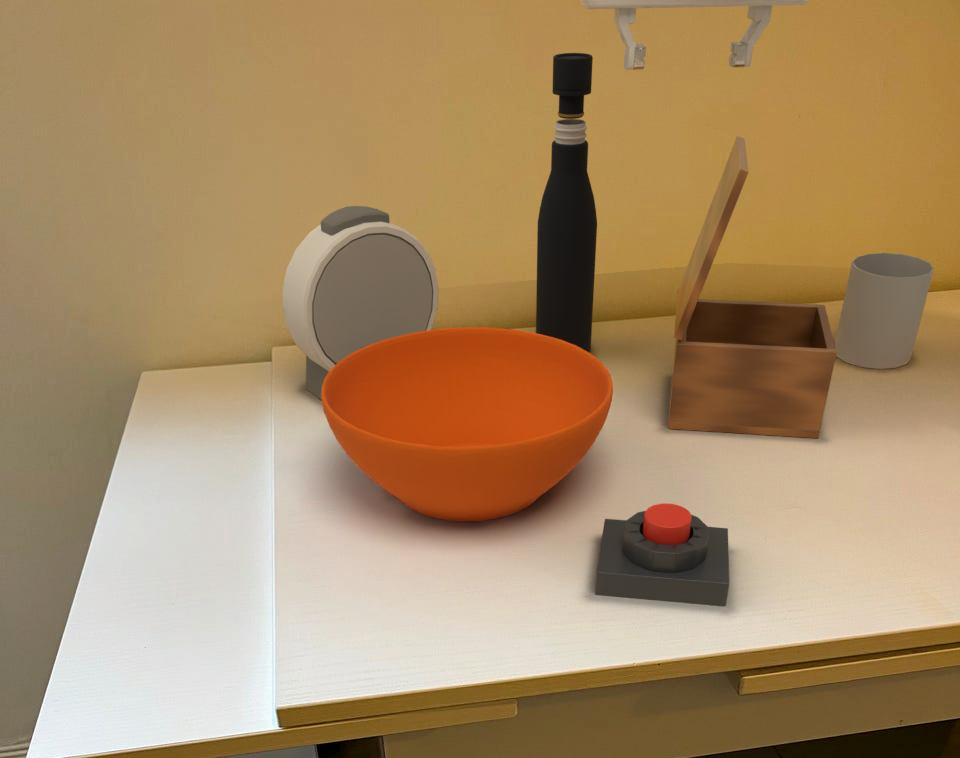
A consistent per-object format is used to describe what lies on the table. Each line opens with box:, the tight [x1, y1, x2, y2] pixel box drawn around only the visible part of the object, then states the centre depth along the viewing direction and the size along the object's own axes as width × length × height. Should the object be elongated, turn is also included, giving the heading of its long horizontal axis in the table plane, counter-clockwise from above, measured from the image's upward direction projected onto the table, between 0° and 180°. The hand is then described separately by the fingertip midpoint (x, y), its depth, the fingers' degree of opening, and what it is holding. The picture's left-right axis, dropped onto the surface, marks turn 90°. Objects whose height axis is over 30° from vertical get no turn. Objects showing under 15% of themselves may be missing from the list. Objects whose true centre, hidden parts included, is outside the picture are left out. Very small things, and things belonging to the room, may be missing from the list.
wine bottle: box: [535, 52, 598, 354], centre depth 106 cm, size 6×6×30 cm
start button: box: [643, 503, 692, 545], centre depth 77 cm, size 4×4×2 cm
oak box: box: [667, 298, 837, 439], centre depth 101 cm, size 15×13×9 cm
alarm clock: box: [281, 205, 440, 400], centre depth 104 cm, size 16×10×18 cm, turn 126°
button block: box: [594, 510, 730, 607], centre depth 79 cm, size 10×8×4 cm
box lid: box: [673, 135, 750, 340], centre depth 94 cm, size 16×13×1 cm
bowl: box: [320, 326, 614, 522], centre depth 89 cm, size 25×25×10 cm
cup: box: [834, 252, 935, 370], centre depth 110 cm, size 8×8×10 cm
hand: (686, 67), depth 87 cm, fingers open, 8 cm apart
